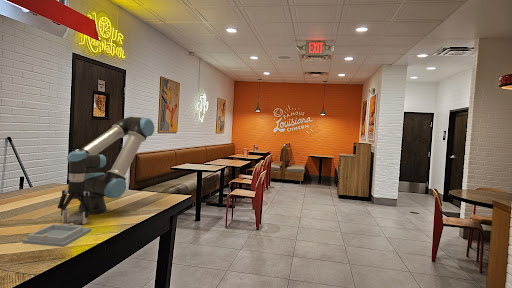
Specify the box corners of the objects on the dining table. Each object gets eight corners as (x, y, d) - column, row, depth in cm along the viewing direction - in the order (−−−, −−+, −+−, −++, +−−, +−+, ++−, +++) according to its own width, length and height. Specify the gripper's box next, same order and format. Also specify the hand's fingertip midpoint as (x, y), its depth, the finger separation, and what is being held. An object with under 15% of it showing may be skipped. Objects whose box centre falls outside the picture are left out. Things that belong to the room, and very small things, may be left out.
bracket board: (55, 227, 160) (56, 219, 160) (91, 230, 159) (91, 222, 159) (22, 243, 138) (22, 233, 138) (63, 246, 137) (64, 237, 137)
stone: (66, 226, 163) (67, 215, 163) (66, 221, 171) (66, 210, 171) (84, 225, 167) (85, 213, 167) (83, 220, 176) (83, 209, 176)
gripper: (50, 180, 164) (48, 222, 165) (94, 183, 164) (91, 226, 165) (60, 178, 172) (57, 219, 173) (101, 181, 171) (99, 222, 172)
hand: (74, 222), depth 169 cm, fingers open, 10 cm apart
